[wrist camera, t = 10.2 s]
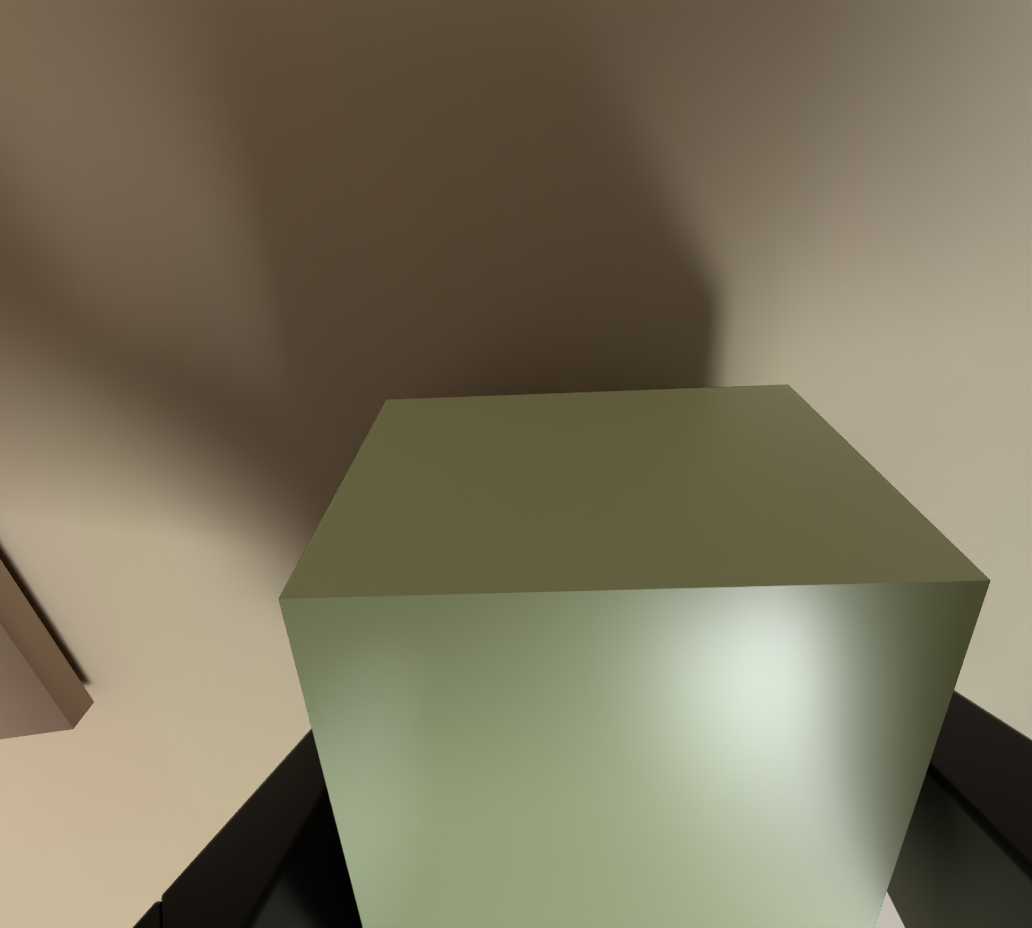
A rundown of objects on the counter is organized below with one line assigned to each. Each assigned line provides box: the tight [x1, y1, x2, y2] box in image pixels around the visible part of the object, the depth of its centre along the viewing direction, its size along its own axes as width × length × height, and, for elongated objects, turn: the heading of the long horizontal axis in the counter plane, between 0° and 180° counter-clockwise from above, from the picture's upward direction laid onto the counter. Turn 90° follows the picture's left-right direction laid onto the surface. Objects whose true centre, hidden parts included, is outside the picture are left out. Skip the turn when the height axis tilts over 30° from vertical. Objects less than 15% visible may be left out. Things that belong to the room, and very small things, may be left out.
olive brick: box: [279, 385, 990, 928], centre depth 8 cm, size 5×7×4 cm
